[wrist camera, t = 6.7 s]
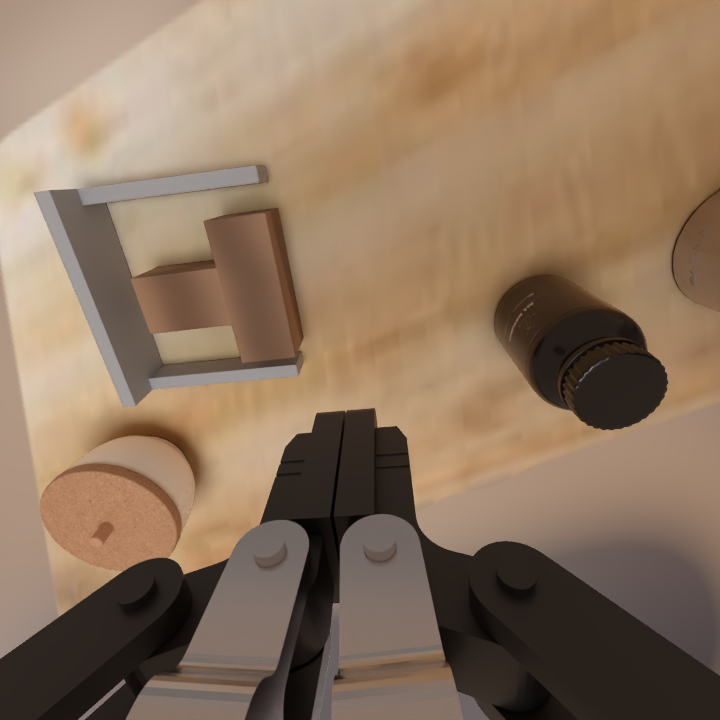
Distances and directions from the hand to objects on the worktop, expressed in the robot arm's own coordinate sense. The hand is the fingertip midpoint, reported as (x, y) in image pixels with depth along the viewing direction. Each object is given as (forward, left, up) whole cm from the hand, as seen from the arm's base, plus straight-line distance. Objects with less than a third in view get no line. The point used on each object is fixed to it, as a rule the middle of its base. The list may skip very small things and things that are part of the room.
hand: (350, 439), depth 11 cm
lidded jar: (+22, +16, -22) cm, 35 cm away
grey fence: (+13, 0, -22) cm, 25 cm away
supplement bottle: (-13, +5, -22) cm, 26 cm away
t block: (+11, 0, -22) cm, 24 cm away
